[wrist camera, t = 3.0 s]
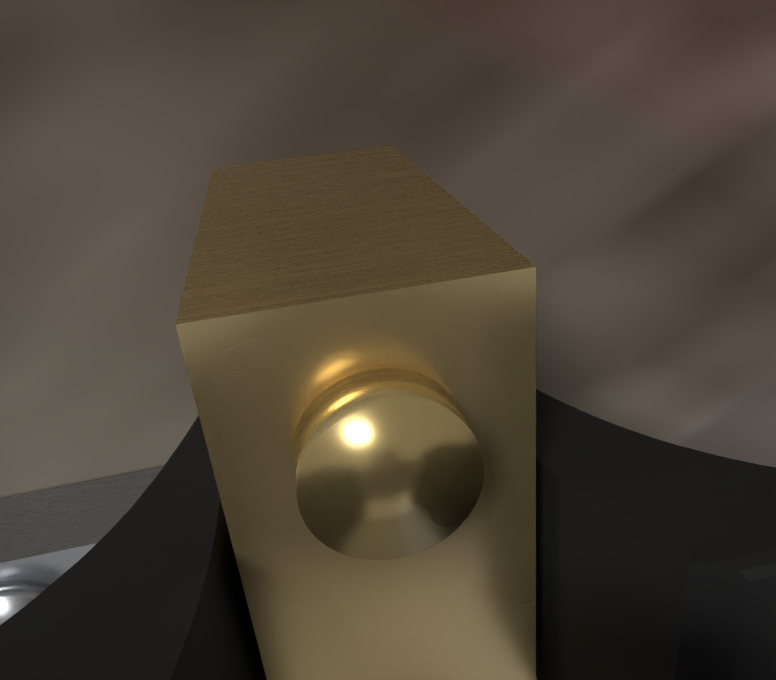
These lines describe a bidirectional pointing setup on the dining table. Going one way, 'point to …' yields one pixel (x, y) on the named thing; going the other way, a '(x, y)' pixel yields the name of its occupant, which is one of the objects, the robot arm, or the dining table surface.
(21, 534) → the grey slotted frame
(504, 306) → the gold bar with studs
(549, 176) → the dining table surface
